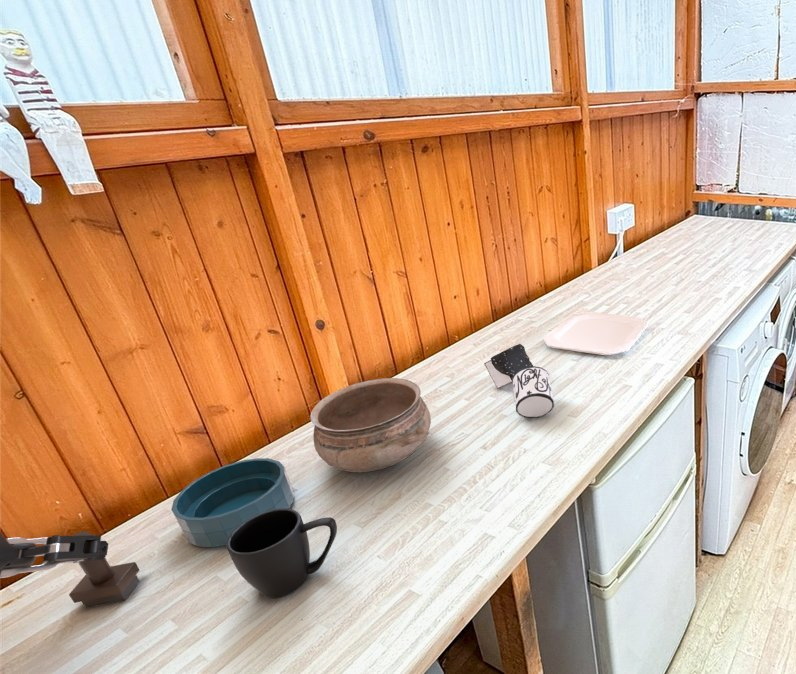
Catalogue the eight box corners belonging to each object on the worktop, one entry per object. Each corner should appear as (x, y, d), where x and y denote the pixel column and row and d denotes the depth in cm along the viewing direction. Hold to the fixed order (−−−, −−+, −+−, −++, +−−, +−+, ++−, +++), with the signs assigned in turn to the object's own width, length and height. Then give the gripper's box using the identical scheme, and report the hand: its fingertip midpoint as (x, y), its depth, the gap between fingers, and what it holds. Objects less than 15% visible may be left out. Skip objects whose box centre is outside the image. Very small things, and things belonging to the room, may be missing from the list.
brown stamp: (79, 611, 68) (40, 553, 64) (100, 586, 72) (63, 530, 67) (127, 602, 69) (91, 544, 65) (145, 578, 73) (112, 522, 69)
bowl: (167, 559, 76) (150, 529, 73) (213, 494, 88) (200, 466, 86) (277, 539, 79) (264, 509, 77) (306, 479, 92) (296, 452, 89)
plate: (623, 362, 131) (623, 355, 130) (536, 350, 138) (535, 342, 137) (652, 325, 152) (652, 318, 151) (576, 316, 159) (575, 309, 158)
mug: (343, 590, 71) (324, 538, 67) (240, 615, 67) (214, 562, 63) (354, 545, 78) (338, 496, 74) (262, 565, 75) (239, 515, 71)
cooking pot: (470, 444, 100) (460, 390, 95) (392, 509, 85) (375, 448, 79) (375, 417, 109) (361, 366, 104) (288, 472, 93) (267, 415, 88)
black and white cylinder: (568, 415, 109) (564, 374, 105) (523, 431, 104) (517, 388, 100) (523, 368, 128) (518, 332, 124) (484, 380, 123) (477, 342, 119)
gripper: (15, 508, 52) (134, 514, 67) (-176, 537, 48) (-5, 538, 63) (-2, 589, 49) (126, 577, 64) (-204, 626, 46) (-19, 605, 61)
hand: (61, 558), depth 64 cm, fingers open, 8 cm apart
